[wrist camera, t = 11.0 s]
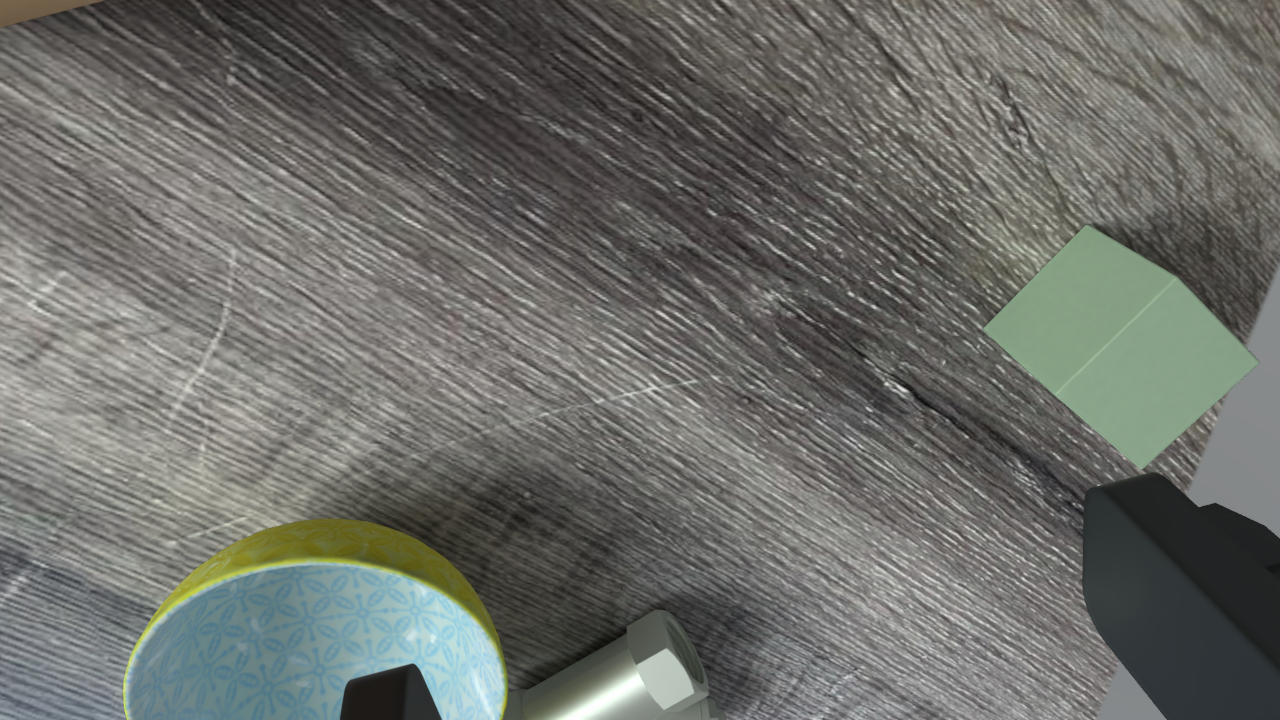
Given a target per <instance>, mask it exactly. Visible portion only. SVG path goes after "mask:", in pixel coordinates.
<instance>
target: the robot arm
mask: <svg viewBox="0 0 1280 720" xmlns="http://www.w3.org/2000/svg"><path fill="white" fill-rule="evenodd" d="M1082 585H1083V594H1084V599H1085V603H1086V606H1087V609H1088V612H1089V614H1090V617H1091V619H1092V621H1093V623H1094V625H1095V627H1096V629H1097V631H1098V632H1099V634H1100V636H1101V637H1102V638H1103V640H1104V641H1105V642H1106V644H1107V645H1108V646H1109V647H1110V649H1111V650H1112V651H1113V652H1114V654H1115V655H1116V656H1117V657H1118V659H1119V660H1120V661H1121V662H1122V664H1123V665H1124V666H1125V668H1126V669H1127V670H1128V671H1129V673H1130V674H1131V675H1132V676H1133V678H1134V679H1135V680H1136V681H1137V683H1138V684H1139V685H1140V686H1141V688H1142V689H1143V690H1144V691H1145V693H1146V694H1147V695H1148V697H1149V698H1150V699H1151V700H1152V702H1153V703H1154V704H1155V705H1156V707H1157V708H1158V709H1159V710H1160V712H1161V713H1162V714H1163V715H1164V717H1165V718H1166V719H1167V720H1280V538H1278V537H1277V536H1276V535H1275V534H1274V533H1273V532H1271V531H1270V530H1269V529H1268V528H1267V527H1266V526H1264V525H1262V524H1260V523H1258V522H1256V521H1253V520H1251V519H1249V518H1247V517H1245V516H1243V515H1241V514H1238V513H1236V512H1234V511H1232V510H1230V509H1228V508H1225V507H1223V506H1221V505H1219V504H1217V503H1213V504H1210V505H1206V506H1202V507H1198V506H1197V505H1196V504H1194V503H1193V502H1192V501H1191V500H1190V499H1189V498H1188V497H1187V496H1186V495H1185V494H1183V493H1182V492H1181V491H1180V490H1179V489H1178V488H1177V487H1176V486H1175V485H1174V484H1172V483H1171V482H1170V481H1169V480H1168V479H1167V478H1165V477H1164V476H1162V475H1161V474H1158V473H1155V472H1150V473H1147V474H1143V475H1139V476H1135V477H1131V478H1127V479H1124V480H1120V481H1116V482H1112V483H1108V484H1104V485H1101V486H1097V487H1093V488H1090V489H1089V490H1088V491H1087V493H1086V495H1085V499H1084V522H1083V576H1082ZM340 720H442V718H441V716H440V714H439V712H438V709H437V707H436V705H435V703H434V700H433V698H432V696H431V693H430V691H429V689H428V687H427V684H426V682H425V680H424V677H423V675H422V673H421V671H420V670H419V668H418V667H417V666H416V665H415V664H414V663H412V664H408V665H404V666H400V667H396V668H392V669H388V670H385V671H381V672H377V673H373V674H369V675H366V676H362V677H358V678H354V679H351V680H349V681H348V683H347V684H346V687H345V690H344V695H343V701H342V707H341V714H340Z"/></svg>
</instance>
